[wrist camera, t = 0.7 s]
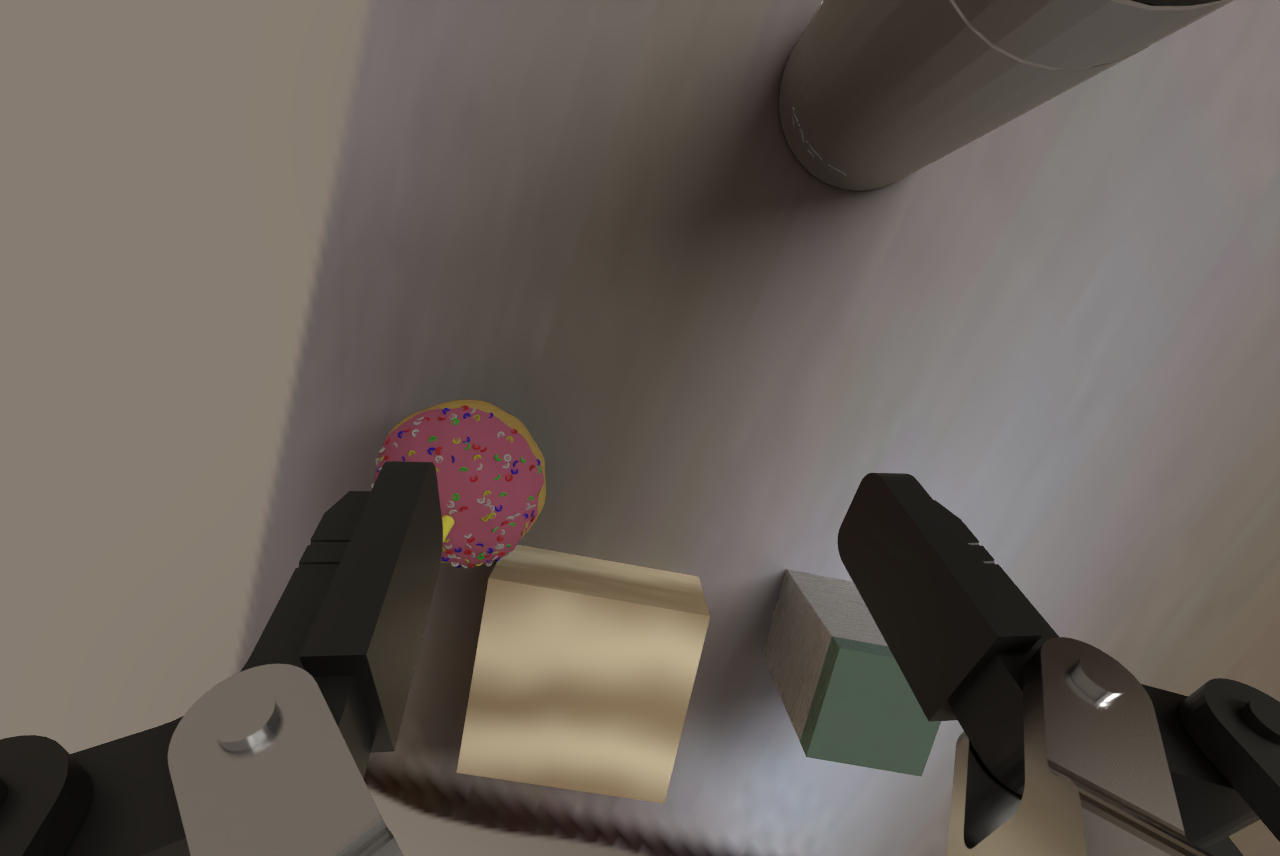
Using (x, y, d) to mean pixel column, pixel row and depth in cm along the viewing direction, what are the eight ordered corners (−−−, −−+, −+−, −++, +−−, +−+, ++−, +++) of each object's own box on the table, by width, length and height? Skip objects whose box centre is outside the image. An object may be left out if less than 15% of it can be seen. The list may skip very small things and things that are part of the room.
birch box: (508, 540, 33) (488, 578, 28) (697, 574, 34) (710, 616, 29) (479, 710, 35) (456, 772, 30) (658, 738, 36) (664, 803, 31)
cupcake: (557, 530, 33) (520, 644, 21) (416, 531, 33) (298, 647, 21) (554, 390, 31) (512, 428, 19) (405, 390, 31) (272, 428, 19)
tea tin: (786, 568, 34) (839, 648, 25) (877, 586, 34) (959, 670, 26) (762, 653, 35) (806, 756, 26) (850, 669, 35) (921, 776, 27)
